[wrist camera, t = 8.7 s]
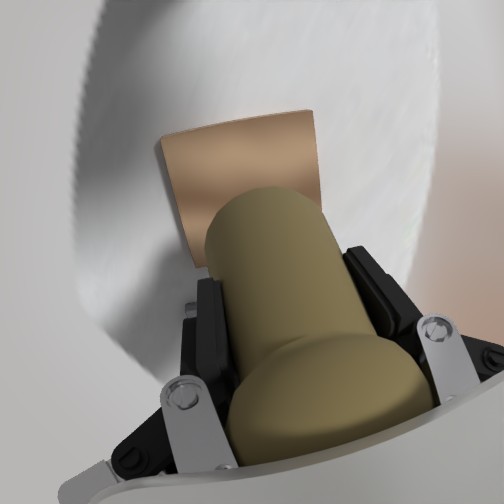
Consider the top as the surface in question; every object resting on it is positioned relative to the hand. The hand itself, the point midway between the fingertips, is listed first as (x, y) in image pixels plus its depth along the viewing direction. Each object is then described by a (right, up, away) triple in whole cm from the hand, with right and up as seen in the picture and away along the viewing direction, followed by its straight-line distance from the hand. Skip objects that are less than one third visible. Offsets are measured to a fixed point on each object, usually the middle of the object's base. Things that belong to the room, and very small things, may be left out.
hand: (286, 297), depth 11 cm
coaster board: (-2, +6, +10) cm, 12 cm away
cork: (0, +2, +4) cm, 4 cm away
